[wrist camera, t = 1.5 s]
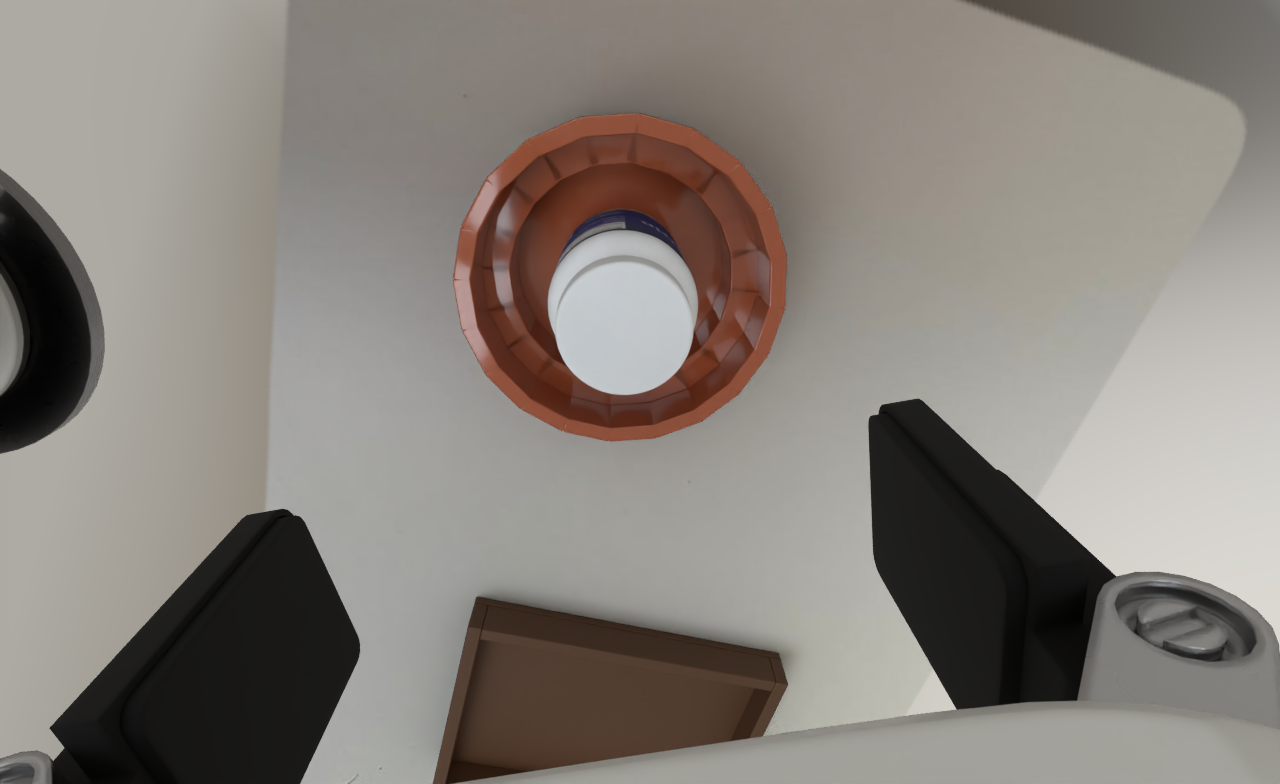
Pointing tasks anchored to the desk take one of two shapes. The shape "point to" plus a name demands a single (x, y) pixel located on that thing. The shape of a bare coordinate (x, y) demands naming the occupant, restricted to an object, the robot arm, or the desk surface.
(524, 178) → the bowl
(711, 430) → the desk surface
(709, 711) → the tray
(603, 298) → the pill bottle
